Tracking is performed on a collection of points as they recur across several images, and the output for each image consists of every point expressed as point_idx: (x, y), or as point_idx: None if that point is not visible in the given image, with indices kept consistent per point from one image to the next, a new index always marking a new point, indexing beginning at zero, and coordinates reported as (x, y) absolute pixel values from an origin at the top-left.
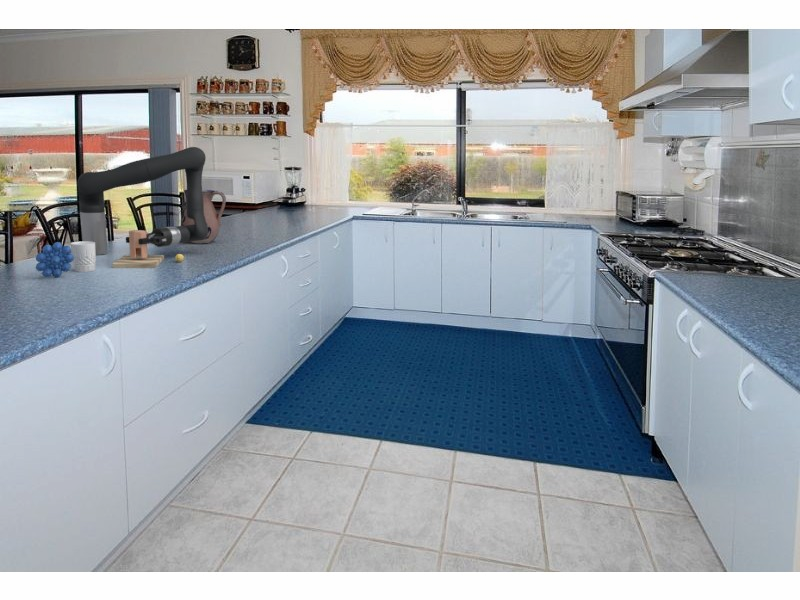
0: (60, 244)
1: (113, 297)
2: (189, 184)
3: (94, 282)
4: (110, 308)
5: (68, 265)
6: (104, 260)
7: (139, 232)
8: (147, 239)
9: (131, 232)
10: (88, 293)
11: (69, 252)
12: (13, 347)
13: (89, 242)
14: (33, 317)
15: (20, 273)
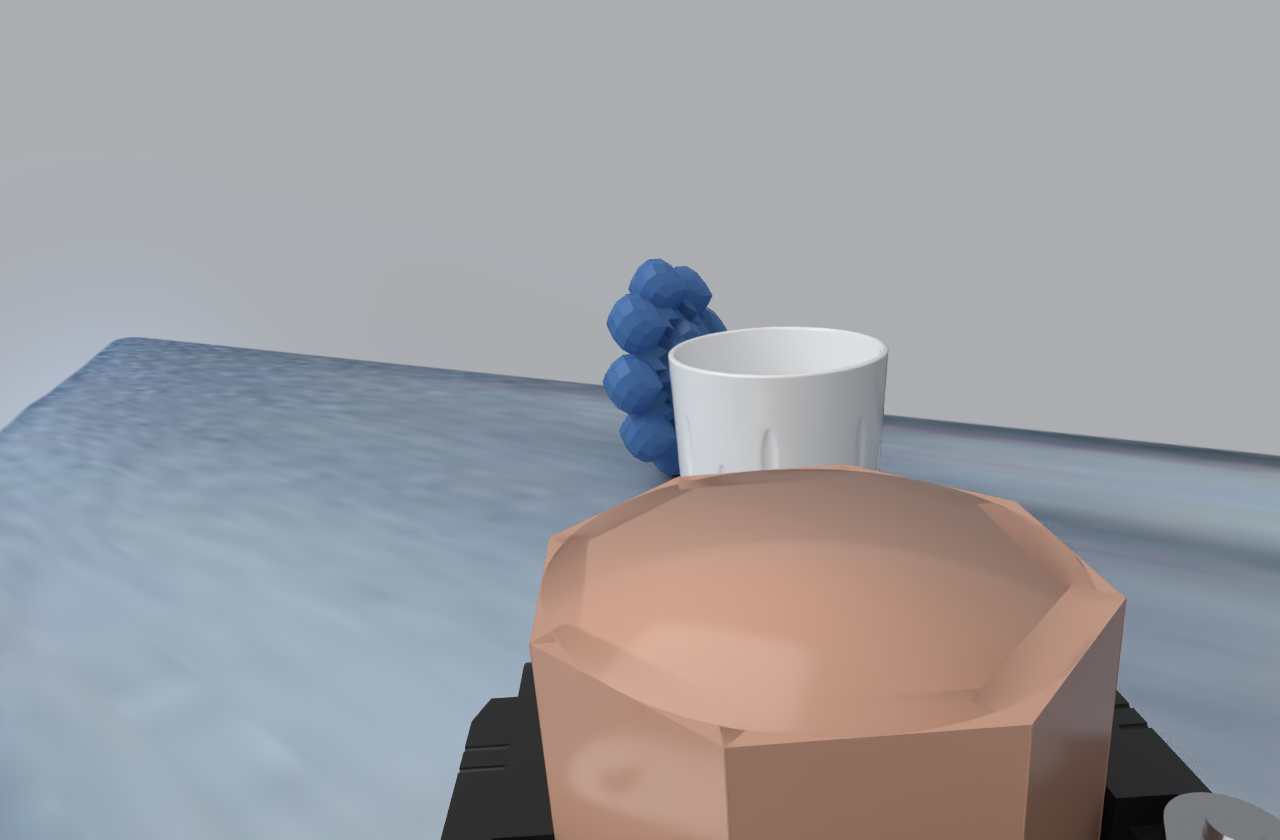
0: (634, 276)
1: (84, 459)
2: None
3: (370, 504)
4: (28, 425)
5: (622, 424)
6: None
7: (573, 531)
8: (444, 828)
9: (757, 485)
10: (241, 447)
11: (620, 344)
12: (132, 339)
13: (828, 379)
14: (230, 365)
15: (937, 442)
